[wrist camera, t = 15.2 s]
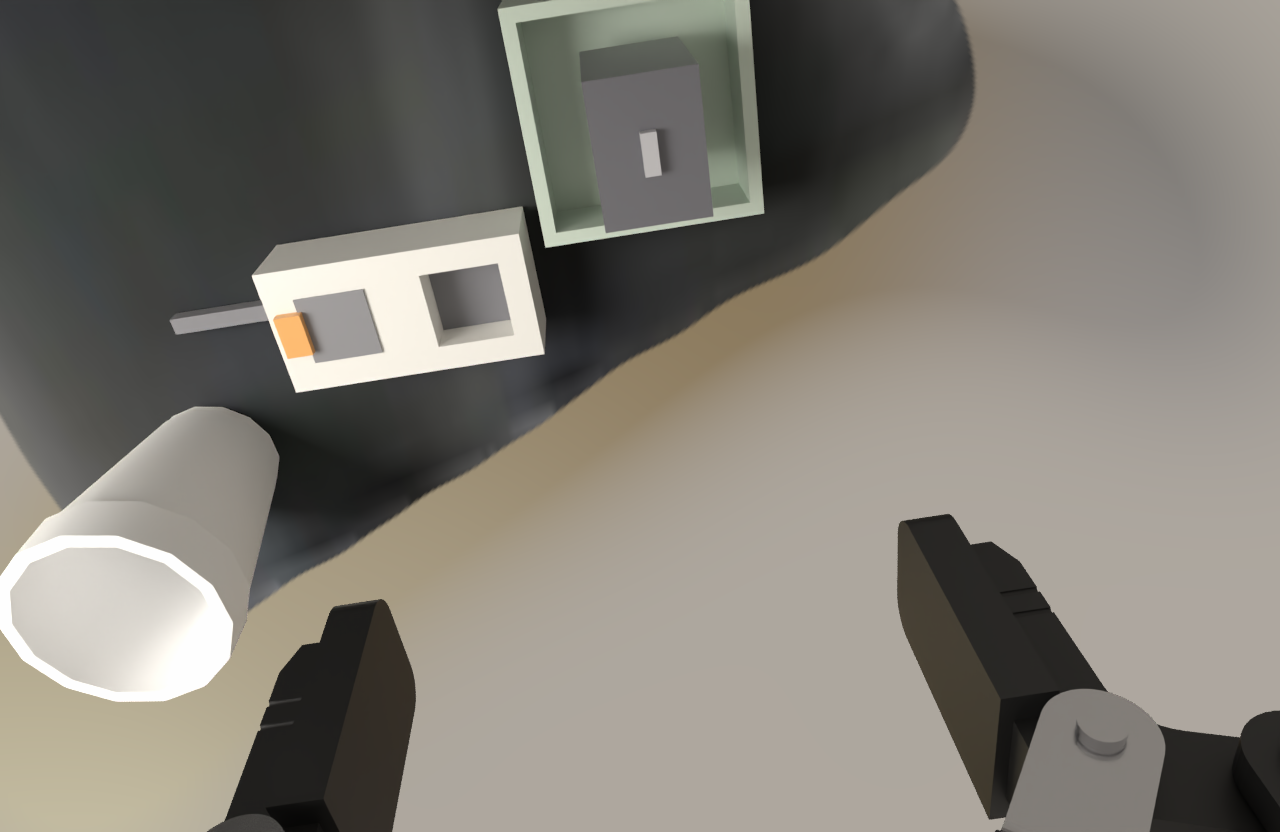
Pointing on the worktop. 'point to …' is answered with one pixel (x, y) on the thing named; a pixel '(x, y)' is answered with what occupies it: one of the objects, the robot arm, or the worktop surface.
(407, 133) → the worktop surface
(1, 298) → the worktop surface
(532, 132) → the tray
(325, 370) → the power strip
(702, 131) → the block
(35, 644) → the foam cup
